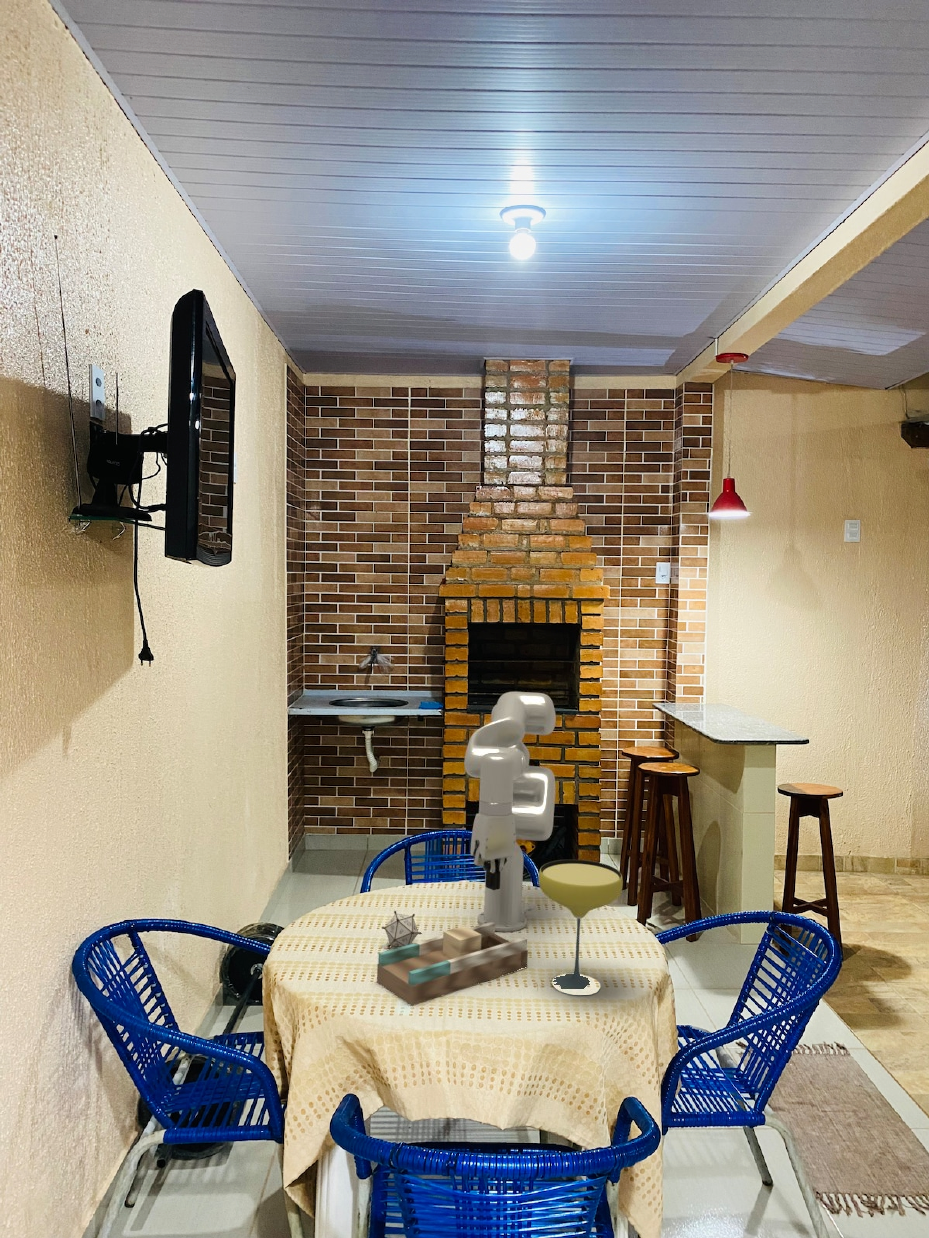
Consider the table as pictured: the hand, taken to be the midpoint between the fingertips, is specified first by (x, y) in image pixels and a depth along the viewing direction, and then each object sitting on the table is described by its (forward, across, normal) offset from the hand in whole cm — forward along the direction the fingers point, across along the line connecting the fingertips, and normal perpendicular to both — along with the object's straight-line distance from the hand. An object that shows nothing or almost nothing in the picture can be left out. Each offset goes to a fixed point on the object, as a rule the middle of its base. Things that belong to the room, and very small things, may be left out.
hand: (492, 887), depth 208 cm
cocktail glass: (+18, -9, +18) cm, 27 cm away
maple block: (+14, +8, 0) cm, 16 cm away
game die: (+18, +11, -20) cm, 29 cm away
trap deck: (+18, +10, 0) cm, 20 cm away
